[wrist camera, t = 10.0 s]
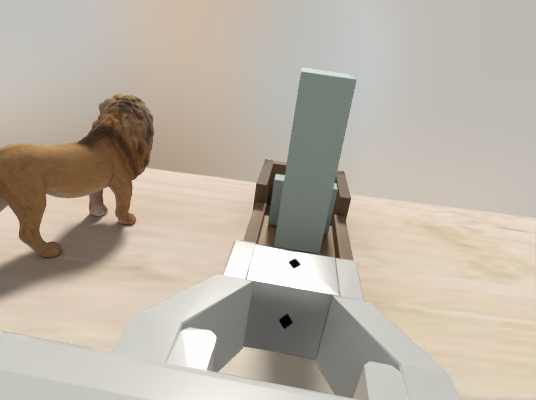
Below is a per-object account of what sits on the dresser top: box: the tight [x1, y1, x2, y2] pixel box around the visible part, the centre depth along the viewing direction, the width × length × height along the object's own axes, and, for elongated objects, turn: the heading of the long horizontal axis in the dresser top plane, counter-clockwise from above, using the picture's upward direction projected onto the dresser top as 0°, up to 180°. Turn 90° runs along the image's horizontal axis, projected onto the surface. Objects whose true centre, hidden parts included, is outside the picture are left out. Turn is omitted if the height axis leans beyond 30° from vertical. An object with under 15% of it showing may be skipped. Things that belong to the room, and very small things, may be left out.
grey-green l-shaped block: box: [268, 68, 356, 254], centre depth 25 cm, size 4×4×11 cm
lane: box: [243, 202, 353, 260], centre depth 25 cm, size 7×9×2 cm
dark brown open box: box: [253, 160, 351, 226], centre depth 32 cm, size 7×6×4 cm
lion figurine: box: [0, 94, 154, 257], centre depth 25 cm, size 15×5×9 cm, turn 155°
